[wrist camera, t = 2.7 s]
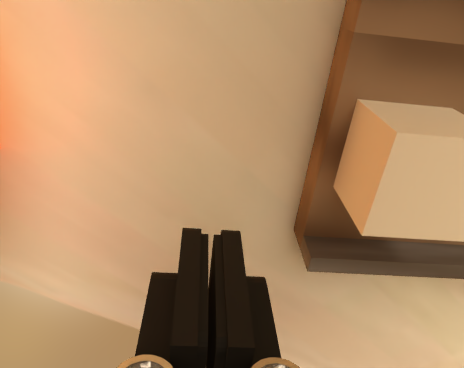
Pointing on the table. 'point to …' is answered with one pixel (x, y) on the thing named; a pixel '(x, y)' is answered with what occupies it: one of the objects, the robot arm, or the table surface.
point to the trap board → (386, 90)
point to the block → (404, 171)
